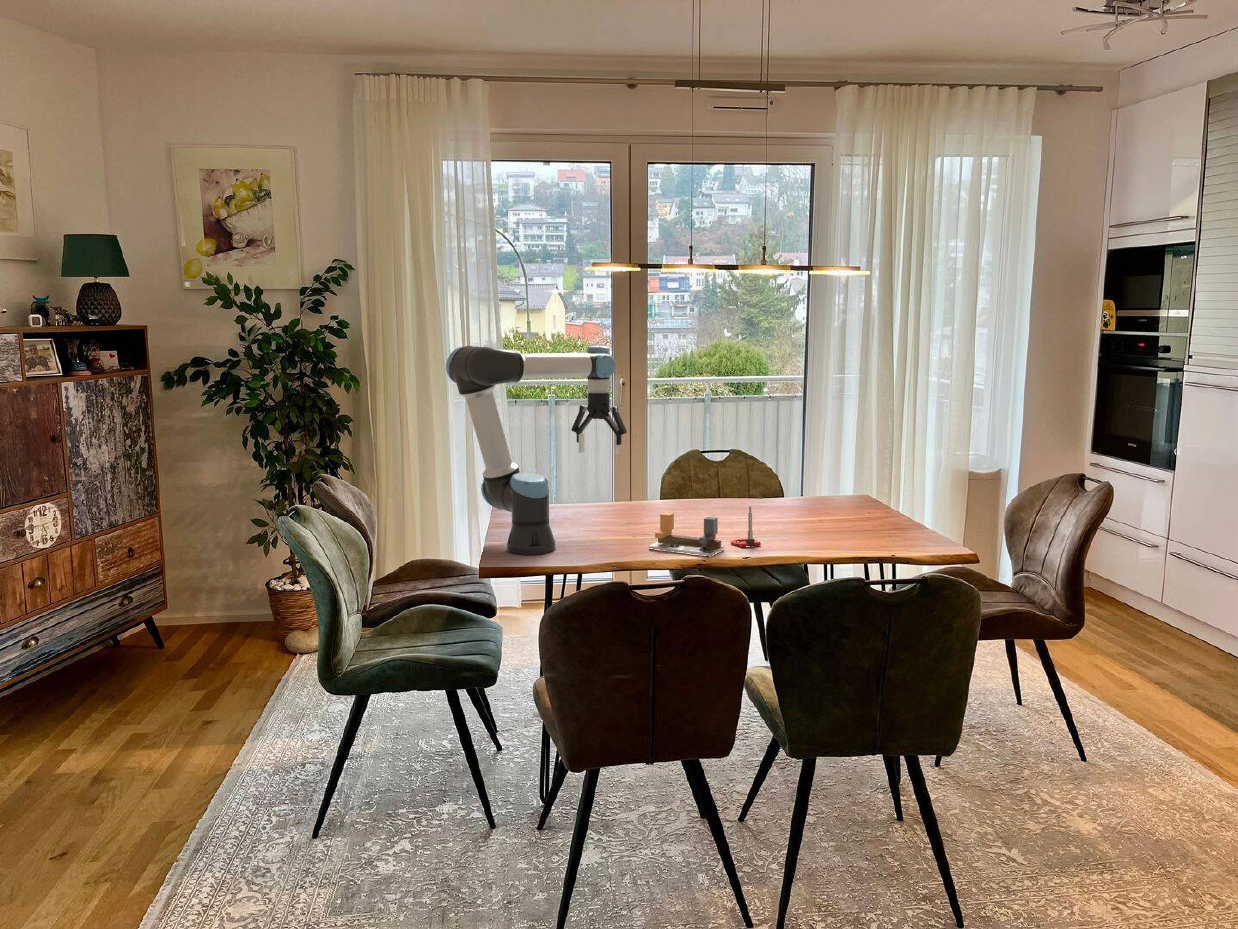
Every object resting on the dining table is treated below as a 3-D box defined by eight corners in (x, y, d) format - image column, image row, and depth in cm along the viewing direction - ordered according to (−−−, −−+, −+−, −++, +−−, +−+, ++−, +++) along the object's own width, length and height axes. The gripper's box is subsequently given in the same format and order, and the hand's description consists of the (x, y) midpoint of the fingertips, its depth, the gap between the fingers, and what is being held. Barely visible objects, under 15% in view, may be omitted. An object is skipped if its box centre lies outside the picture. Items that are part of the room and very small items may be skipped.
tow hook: (726, 543, 299) (739, 548, 290) (726, 503, 297) (739, 507, 289) (749, 541, 302) (763, 546, 293) (749, 501, 300) (763, 505, 291)
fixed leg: (707, 549, 282) (707, 522, 281) (697, 548, 284) (697, 521, 283) (717, 544, 289) (717, 517, 288) (707, 542, 291) (708, 516, 289)
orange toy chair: (663, 544, 290) (663, 517, 288) (653, 543, 291) (653, 516, 290) (673, 538, 296) (673, 513, 295) (664, 537, 298) (664, 512, 296)
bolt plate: (710, 557, 280) (710, 547, 280) (648, 549, 290) (648, 539, 290) (723, 550, 289) (723, 539, 288) (662, 542, 299) (662, 533, 298)
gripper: (636, 392, 316) (636, 454, 320) (572, 389, 327) (572, 449, 331) (626, 393, 310) (626, 457, 313) (561, 391, 321) (562, 452, 324)
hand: (598, 453), depth 322 cm, fingers open, 13 cm apart
